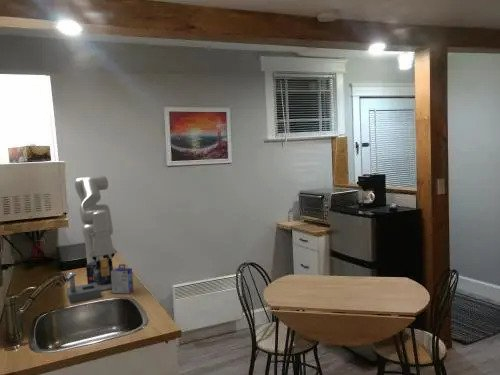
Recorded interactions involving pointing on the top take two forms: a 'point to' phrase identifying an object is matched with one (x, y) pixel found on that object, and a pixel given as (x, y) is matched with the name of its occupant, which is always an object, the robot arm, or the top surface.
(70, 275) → the clip
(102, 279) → the small box
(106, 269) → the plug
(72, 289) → the socket block
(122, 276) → the ink cartridge box
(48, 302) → the top surface
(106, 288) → the pad
